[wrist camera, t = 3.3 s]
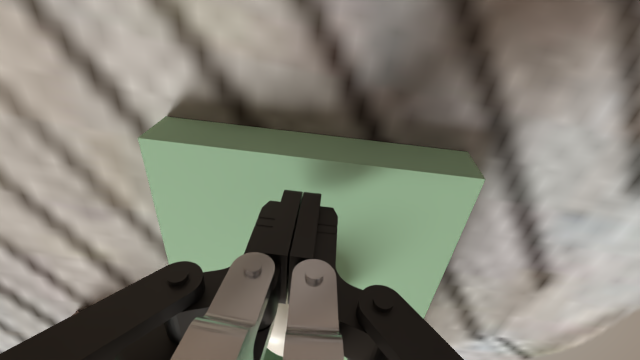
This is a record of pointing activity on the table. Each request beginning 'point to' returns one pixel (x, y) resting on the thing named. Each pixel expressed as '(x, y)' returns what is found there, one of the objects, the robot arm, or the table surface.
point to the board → (315, 177)
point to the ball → (279, 329)
